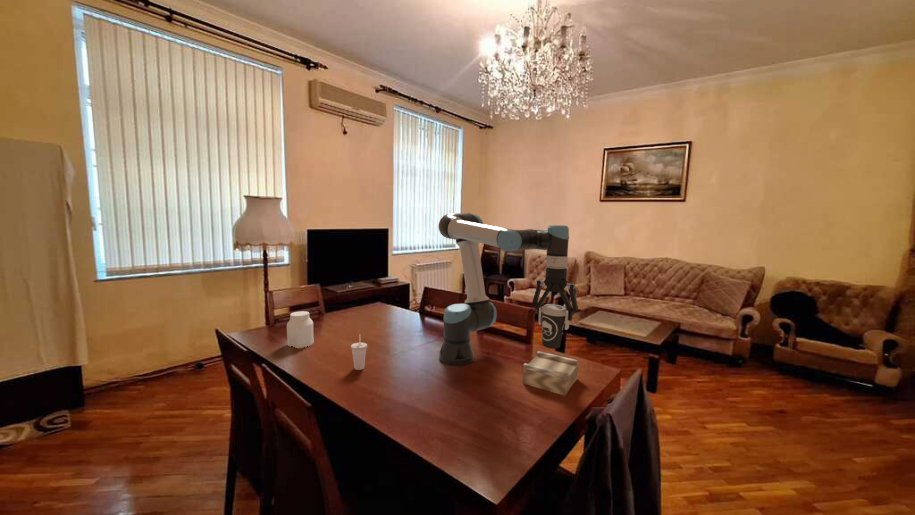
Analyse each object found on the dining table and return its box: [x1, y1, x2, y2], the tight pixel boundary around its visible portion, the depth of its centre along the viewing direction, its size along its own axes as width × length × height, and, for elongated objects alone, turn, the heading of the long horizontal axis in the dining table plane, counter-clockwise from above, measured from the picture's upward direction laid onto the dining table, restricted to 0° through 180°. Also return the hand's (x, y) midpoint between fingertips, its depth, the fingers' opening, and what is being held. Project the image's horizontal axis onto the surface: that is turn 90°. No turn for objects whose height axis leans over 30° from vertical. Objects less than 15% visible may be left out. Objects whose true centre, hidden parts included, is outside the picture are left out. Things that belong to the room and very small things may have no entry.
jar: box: [286, 310, 315, 349], centre depth 165 cm, size 12×10×15 cm
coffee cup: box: [541, 303, 568, 350], centre depth 131 cm, size 10×10×15 cm
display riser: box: [522, 351, 579, 397], centre depth 133 cm, size 16×16×8 cm
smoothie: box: [350, 333, 368, 371], centre depth 140 cm, size 6×6×14 cm
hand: (553, 326), depth 130 cm, fingers closed on coffee cup, 9 cm apart
